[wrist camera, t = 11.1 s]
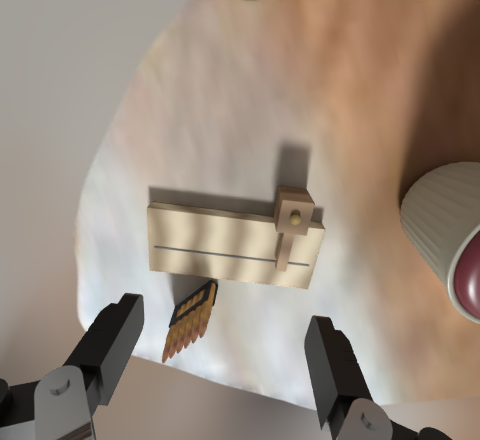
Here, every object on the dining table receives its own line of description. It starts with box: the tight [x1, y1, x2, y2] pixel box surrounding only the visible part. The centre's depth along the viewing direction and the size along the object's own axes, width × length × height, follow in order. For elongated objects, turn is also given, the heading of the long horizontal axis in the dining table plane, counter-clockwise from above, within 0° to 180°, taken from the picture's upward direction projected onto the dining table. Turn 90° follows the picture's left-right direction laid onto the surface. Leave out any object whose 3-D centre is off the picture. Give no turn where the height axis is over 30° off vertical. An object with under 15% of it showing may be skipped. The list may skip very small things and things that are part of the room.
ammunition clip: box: [162, 280, 218, 363], centre depth 46 cm, size 11×2×12 cm, turn 133°
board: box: [147, 202, 325, 289], centre depth 44 cm, size 28×12×2 cm, turn 83°
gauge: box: [273, 186, 315, 272], centre depth 41 cm, size 12×4×7 cm, turn 173°
